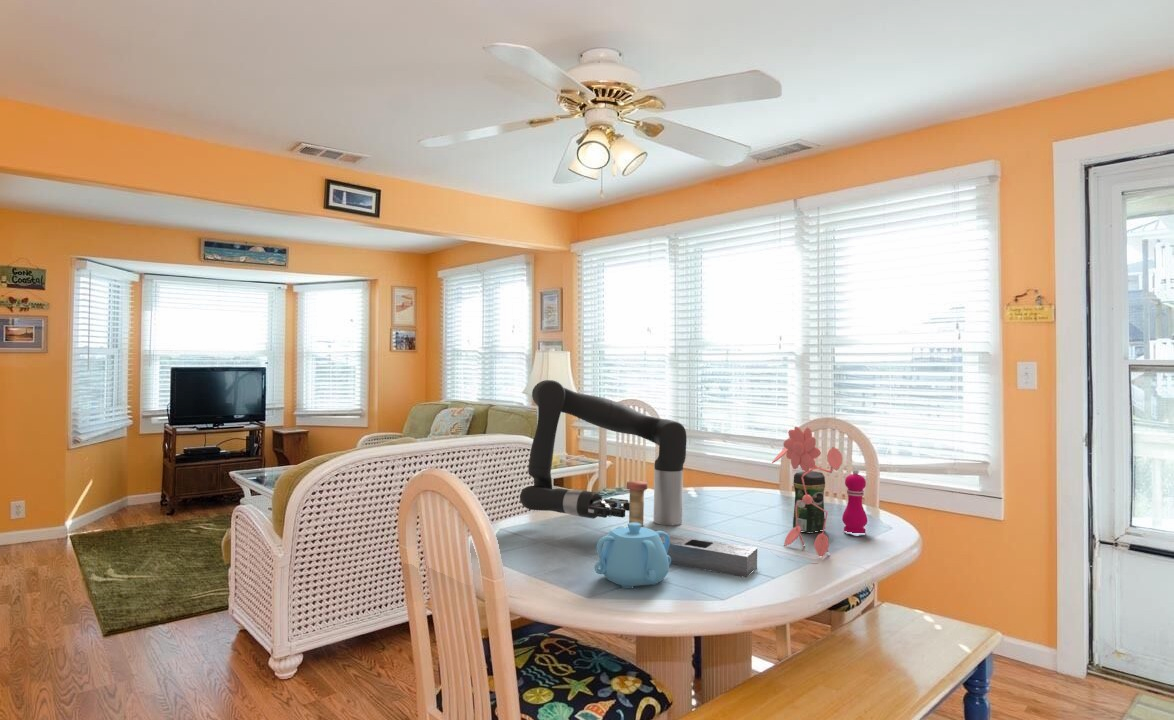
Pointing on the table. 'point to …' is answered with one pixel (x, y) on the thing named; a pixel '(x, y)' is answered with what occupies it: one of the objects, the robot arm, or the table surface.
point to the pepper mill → (855, 504)
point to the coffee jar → (809, 514)
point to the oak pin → (636, 501)
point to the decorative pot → (633, 556)
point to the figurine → (804, 454)
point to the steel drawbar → (712, 555)
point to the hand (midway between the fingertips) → (631, 510)
